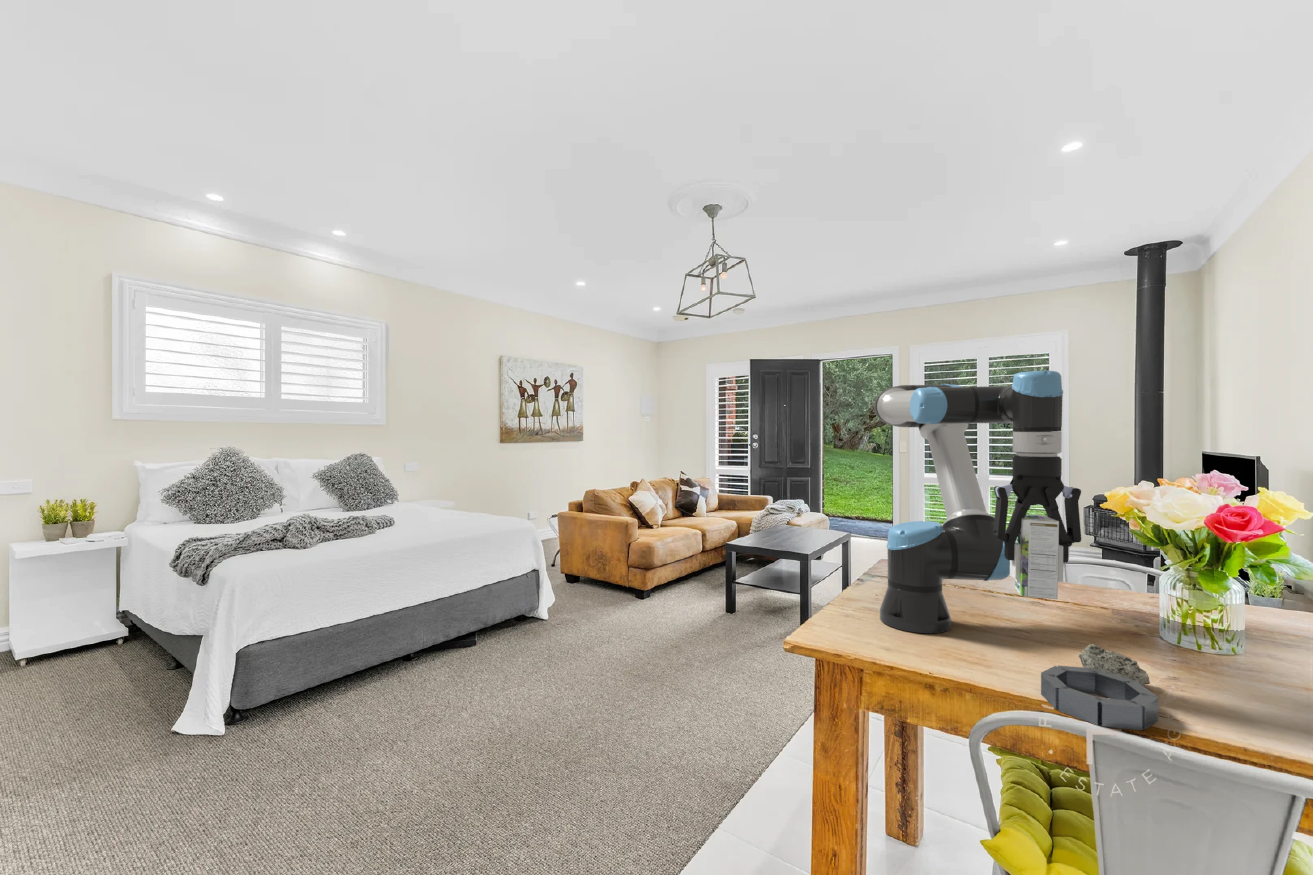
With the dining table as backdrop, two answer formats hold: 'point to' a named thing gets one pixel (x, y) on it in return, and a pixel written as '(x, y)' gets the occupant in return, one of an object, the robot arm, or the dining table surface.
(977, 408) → the robot arm
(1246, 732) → the dining table surface
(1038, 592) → the syrup box
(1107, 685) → the collar
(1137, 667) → the rock sample
